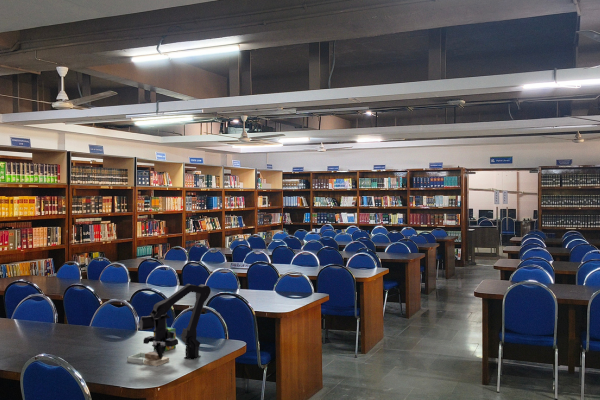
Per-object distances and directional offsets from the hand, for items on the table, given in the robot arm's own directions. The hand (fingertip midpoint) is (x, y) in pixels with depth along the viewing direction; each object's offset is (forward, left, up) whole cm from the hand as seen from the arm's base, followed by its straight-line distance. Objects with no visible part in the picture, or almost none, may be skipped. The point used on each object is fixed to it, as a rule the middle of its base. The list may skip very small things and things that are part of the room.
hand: (160, 357), depth 271 cm
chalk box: (+18, -23, -3) cm, 29 cm away
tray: (+13, 0, -3) cm, 13 cm away
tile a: (+3, 0, -1) cm, 3 cm away
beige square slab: (+3, 0, -3) cm, 4 cm away
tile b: (+7, 0, -1) cm, 7 cm away
